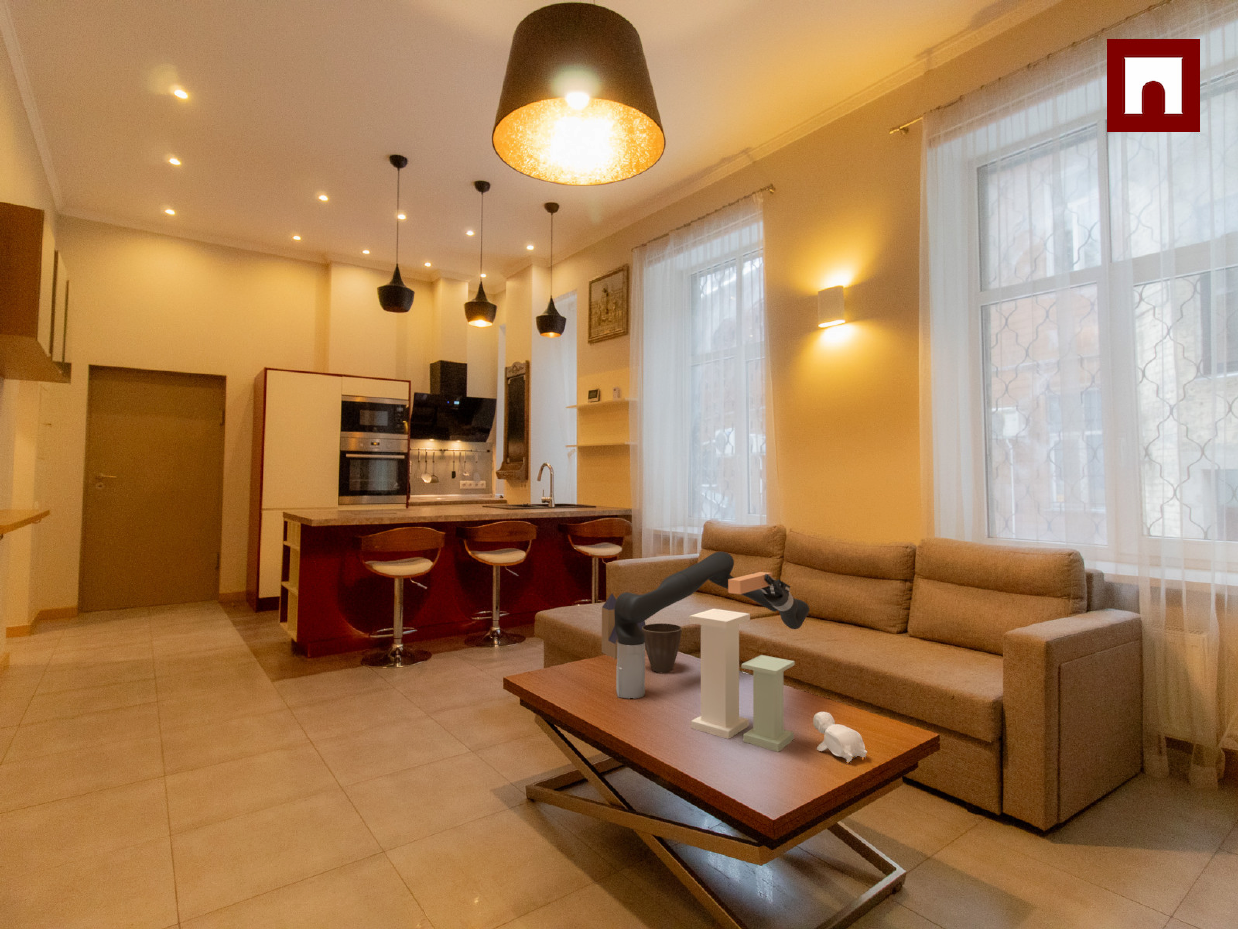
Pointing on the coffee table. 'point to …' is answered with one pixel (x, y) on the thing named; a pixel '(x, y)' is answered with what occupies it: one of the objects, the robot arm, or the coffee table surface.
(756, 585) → the beam
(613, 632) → the toy building blocks
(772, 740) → the short stand
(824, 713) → the white turtle figurine
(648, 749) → the coffee table surface
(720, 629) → the tall stand
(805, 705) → the coffee table surface
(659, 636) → the plant pot
